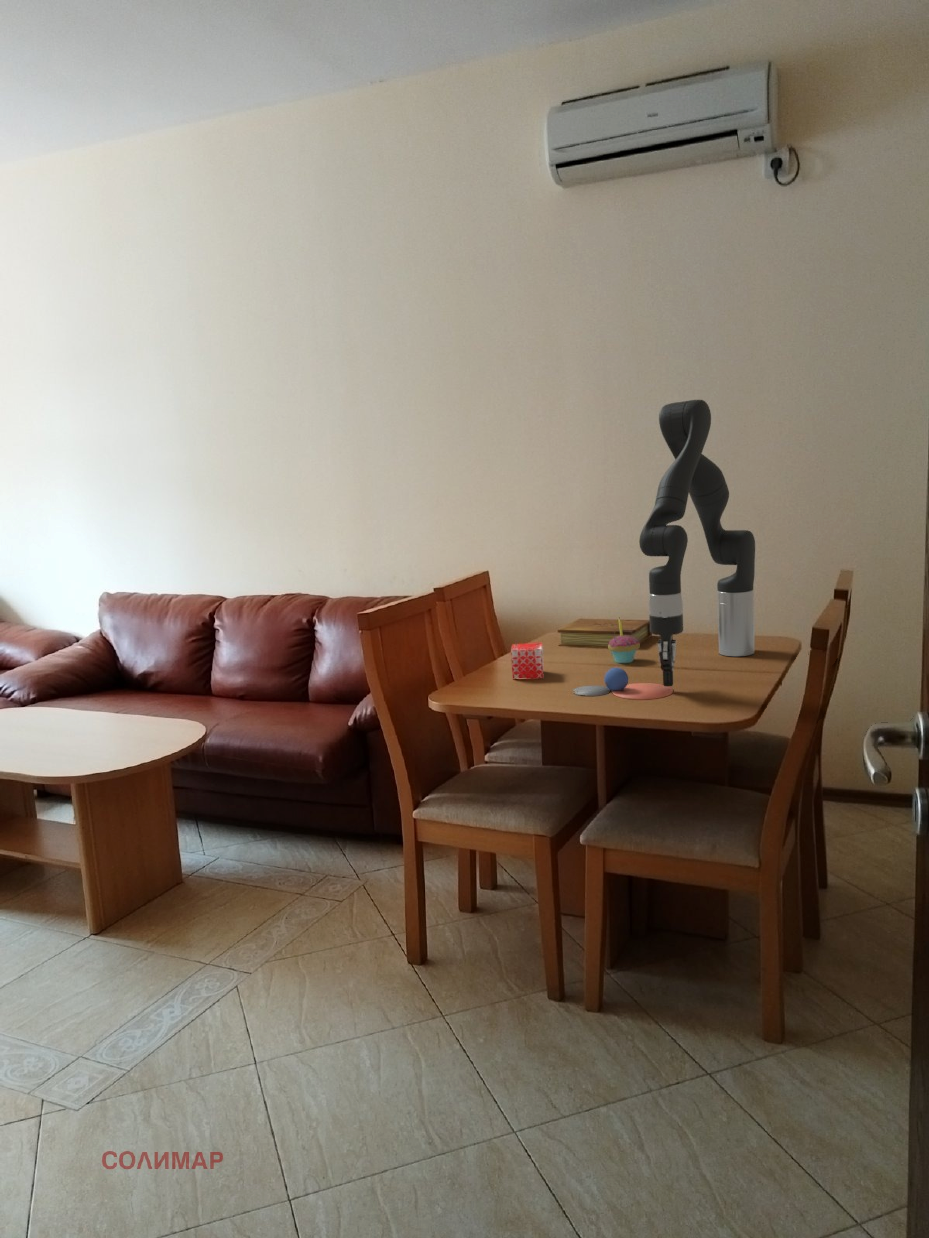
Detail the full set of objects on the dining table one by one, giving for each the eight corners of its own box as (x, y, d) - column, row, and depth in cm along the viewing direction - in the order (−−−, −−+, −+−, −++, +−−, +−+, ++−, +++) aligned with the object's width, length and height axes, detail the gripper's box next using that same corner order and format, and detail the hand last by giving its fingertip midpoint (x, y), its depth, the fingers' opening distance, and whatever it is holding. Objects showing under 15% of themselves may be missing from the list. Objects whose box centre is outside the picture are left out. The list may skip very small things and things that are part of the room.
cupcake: (603, 660, 239) (601, 617, 237) (630, 656, 242) (629, 613, 240) (618, 666, 231) (616, 622, 229) (646, 662, 234) (644, 618, 232)
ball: (606, 669, 211) (625, 661, 208) (616, 690, 211) (635, 682, 208) (596, 676, 207) (616, 667, 203) (607, 697, 206) (627, 689, 203)
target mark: (616, 683, 214) (616, 682, 214) (675, 684, 210) (675, 683, 210) (608, 699, 201) (608, 698, 201) (670, 699, 197) (670, 699, 196)
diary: (652, 638, 267) (651, 619, 266) (632, 651, 251) (631, 631, 250) (581, 635, 278) (581, 617, 277) (558, 647, 263) (557, 628, 262)
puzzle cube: (514, 673, 233) (512, 644, 232) (543, 671, 232) (542, 642, 231) (512, 680, 225) (510, 650, 224) (543, 679, 224) (541, 649, 223)
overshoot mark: (576, 686, 214) (576, 685, 214) (613, 686, 212) (613, 685, 212) (569, 695, 206) (569, 695, 206) (607, 696, 203) (607, 695, 203)
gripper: (652, 607, 208) (654, 678, 210) (646, 618, 195) (649, 693, 198) (684, 607, 205) (686, 678, 208) (680, 617, 193) (683, 693, 196)
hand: (668, 685), depth 203 cm, fingers closed
